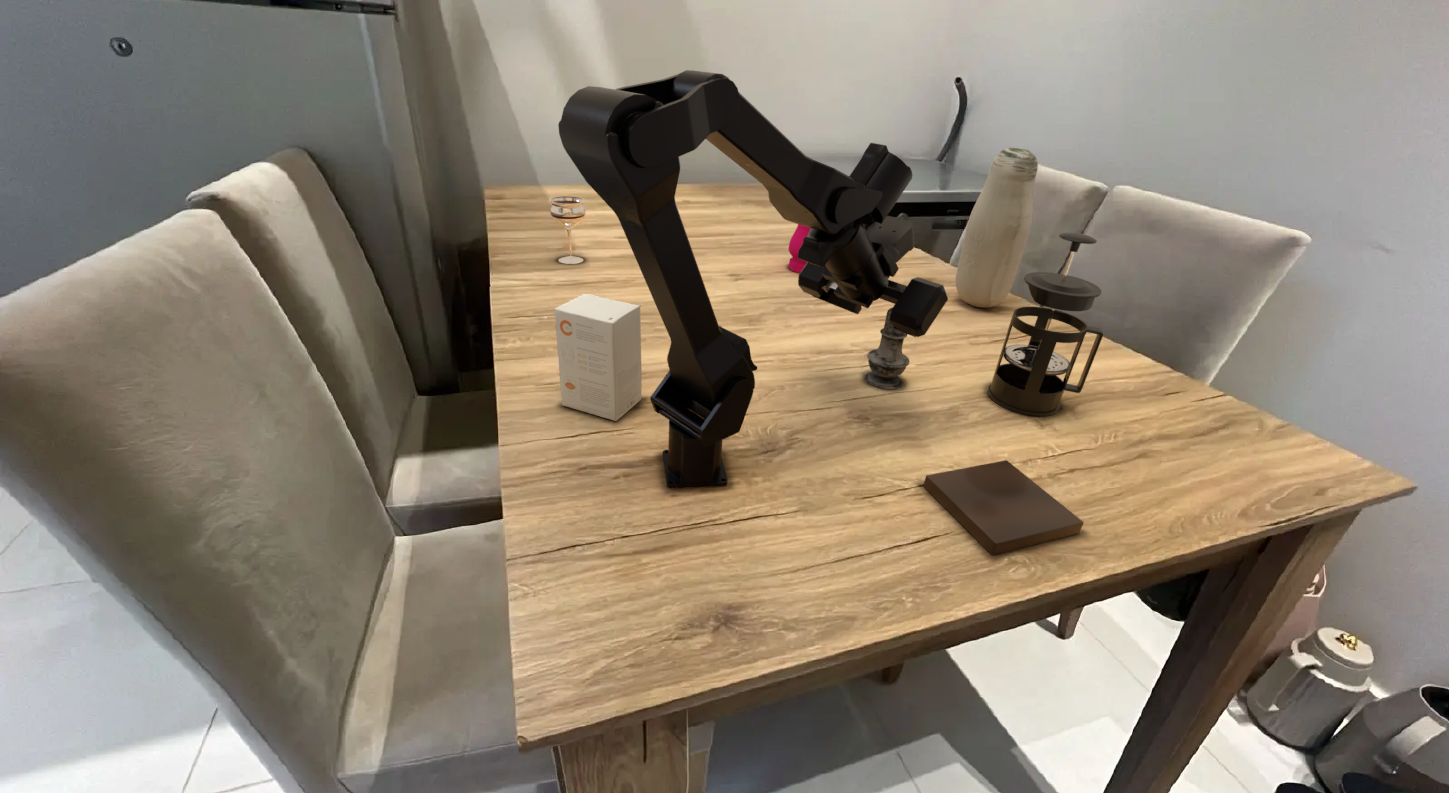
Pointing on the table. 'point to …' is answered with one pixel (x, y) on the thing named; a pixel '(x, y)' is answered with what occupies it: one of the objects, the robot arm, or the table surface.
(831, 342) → the table surface
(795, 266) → the pepper mill
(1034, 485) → the walnut board
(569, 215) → the wineglass
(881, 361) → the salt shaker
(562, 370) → the small box
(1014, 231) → the cream bottle
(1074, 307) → the french press
